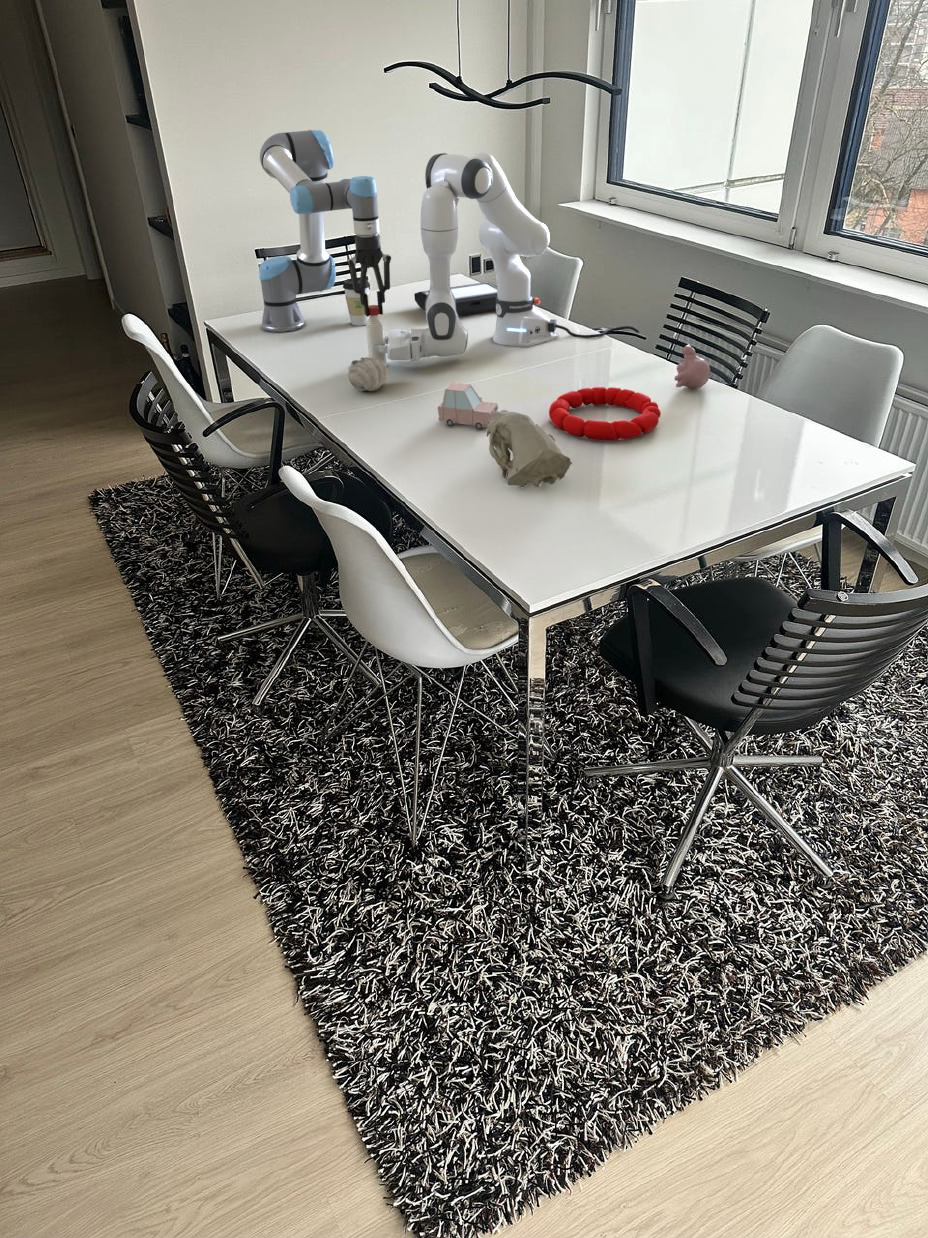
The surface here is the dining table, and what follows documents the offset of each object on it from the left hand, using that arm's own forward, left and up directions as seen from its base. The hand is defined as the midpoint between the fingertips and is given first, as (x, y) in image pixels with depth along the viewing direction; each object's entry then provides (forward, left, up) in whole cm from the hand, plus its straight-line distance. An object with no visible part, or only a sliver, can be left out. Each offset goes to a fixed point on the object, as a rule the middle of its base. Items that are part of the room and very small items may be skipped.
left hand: (373, 314), depth 278 cm
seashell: (+22, -5, -16) cm, 28 cm away
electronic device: (-57, +38, -16) cm, 71 cm away
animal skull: (+87, +27, -16) cm, 93 cm away
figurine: (+45, +88, -16) cm, 100 cm away
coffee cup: (-49, -2, -16) cm, 51 cm away
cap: (0, 0, +2) cm, 2 cm away
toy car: (+55, +20, -16) cm, 60 cm away
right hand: (0, -1, -10) cm, 10 cm away
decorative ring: (+63, +56, -16) cm, 86 cm away
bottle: (0, 0, -16) cm, 16 cm away
